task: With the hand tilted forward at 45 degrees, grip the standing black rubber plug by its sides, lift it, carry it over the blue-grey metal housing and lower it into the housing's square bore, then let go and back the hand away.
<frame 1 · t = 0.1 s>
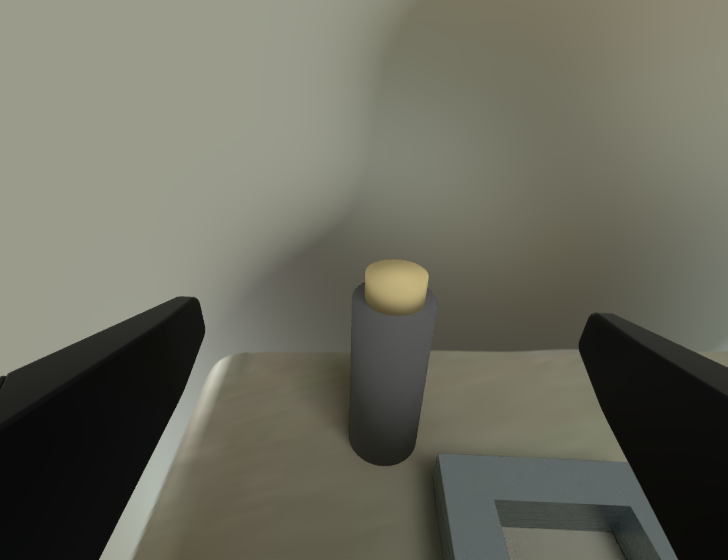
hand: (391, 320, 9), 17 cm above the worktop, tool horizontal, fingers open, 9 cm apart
plug: (382, 434, 25), on the worktop
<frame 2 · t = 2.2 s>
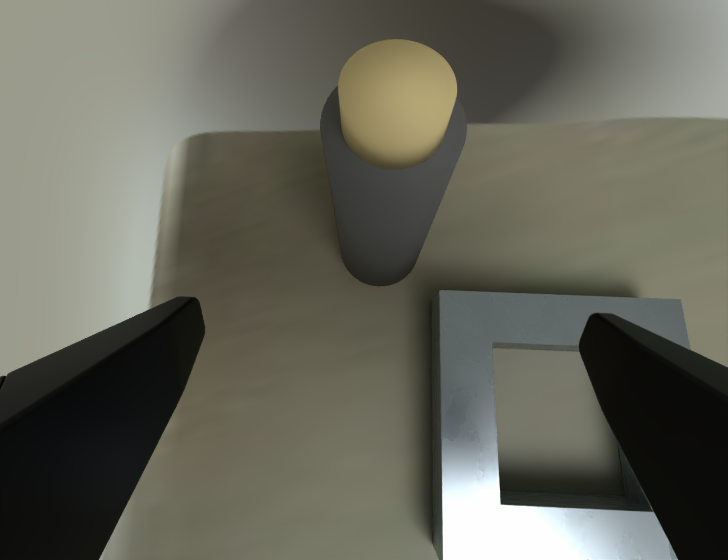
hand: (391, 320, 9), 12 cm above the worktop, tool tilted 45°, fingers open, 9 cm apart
housing: (547, 417, 20), on the worktop
plug: (379, 249, 22), on the worktop
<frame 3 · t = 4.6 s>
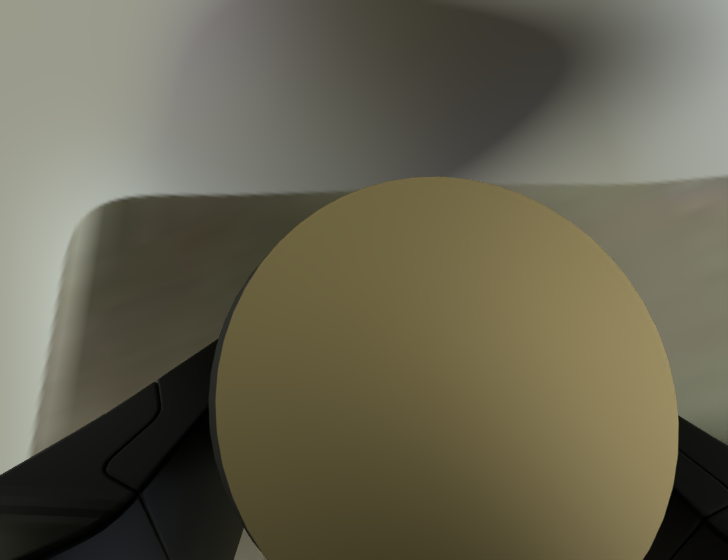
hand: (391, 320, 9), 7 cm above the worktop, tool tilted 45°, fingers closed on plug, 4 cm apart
plug: (379, 383, 15), on the worktop, touching gripper
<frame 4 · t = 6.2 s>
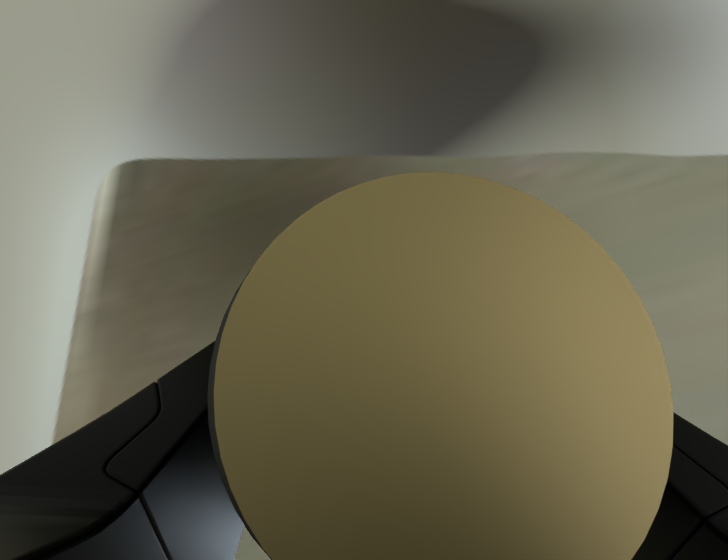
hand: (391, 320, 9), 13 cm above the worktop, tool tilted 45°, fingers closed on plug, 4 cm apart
plug: (378, 382, 15), point 7 cm above the worktop, touching gripper
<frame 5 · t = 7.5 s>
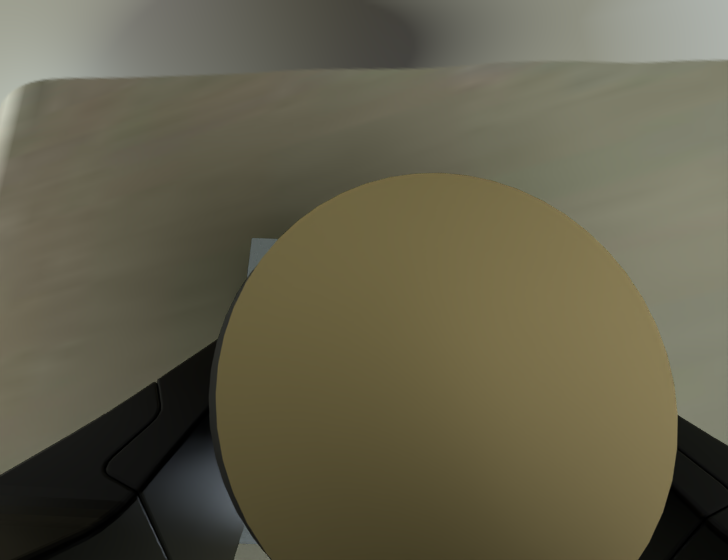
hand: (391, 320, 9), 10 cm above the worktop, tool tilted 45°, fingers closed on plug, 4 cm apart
housing: (378, 380, 18), on the worktop
plug: (379, 382, 15), point 3 cm above the worktop, touching gripper
when the fingers open (8 cm above the worktop, at t = 8.3 s): plug drops 1 cm, resting in housing.
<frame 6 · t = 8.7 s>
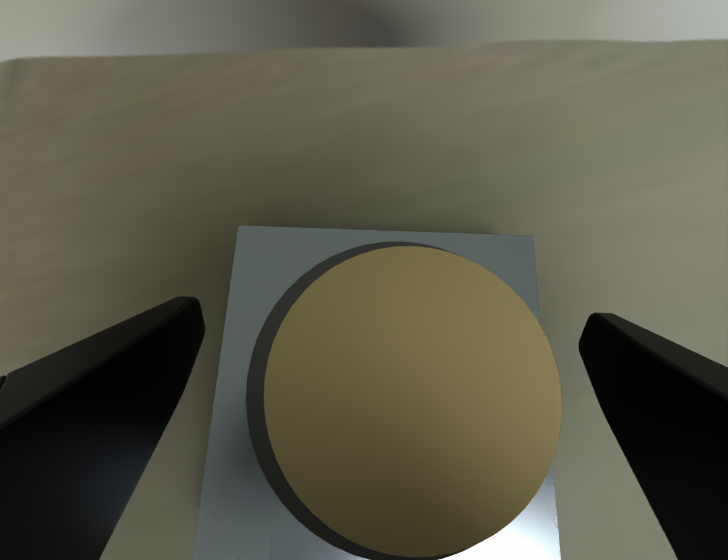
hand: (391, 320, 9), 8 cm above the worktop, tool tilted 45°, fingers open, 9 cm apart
housing: (378, 383, 16), on the worktop
plug: (376, 384, 16), resting in housing
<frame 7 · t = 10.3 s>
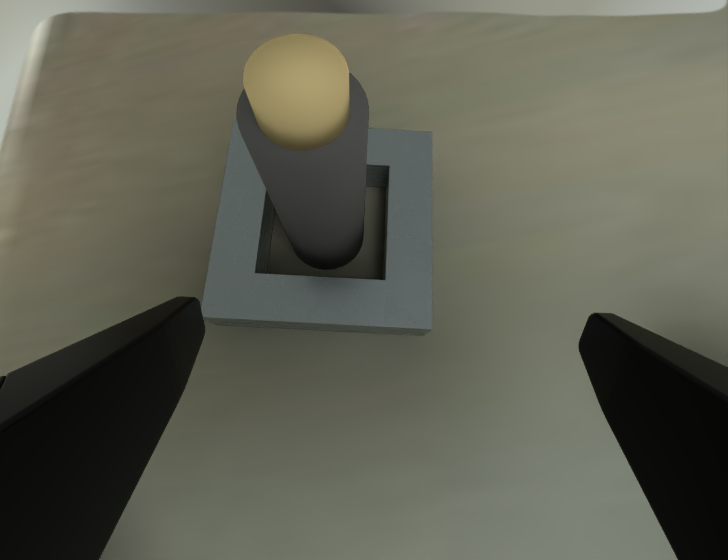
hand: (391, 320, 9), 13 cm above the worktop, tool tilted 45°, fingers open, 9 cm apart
housing: (328, 234, 23), on the worktop
plug: (327, 235, 23), resting in housing
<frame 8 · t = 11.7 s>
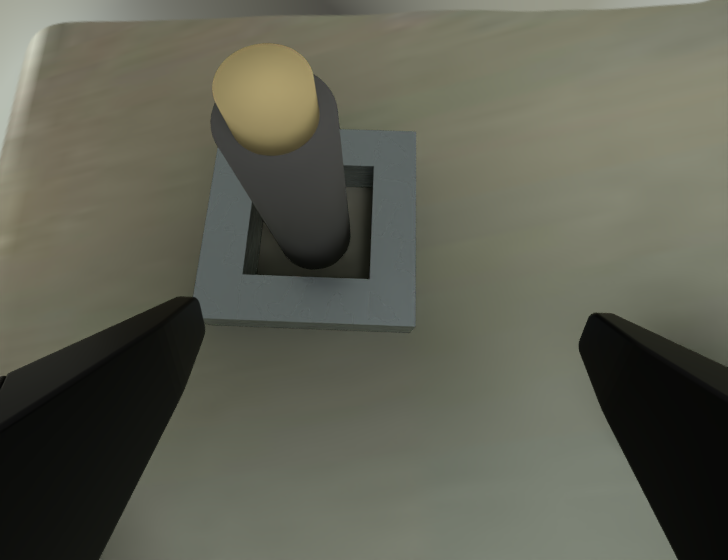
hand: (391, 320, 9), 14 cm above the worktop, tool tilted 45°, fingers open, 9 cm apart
housing: (316, 234, 24), on the worktop
plug: (315, 235, 24), resting in housing
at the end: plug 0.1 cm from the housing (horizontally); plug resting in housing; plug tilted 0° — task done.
